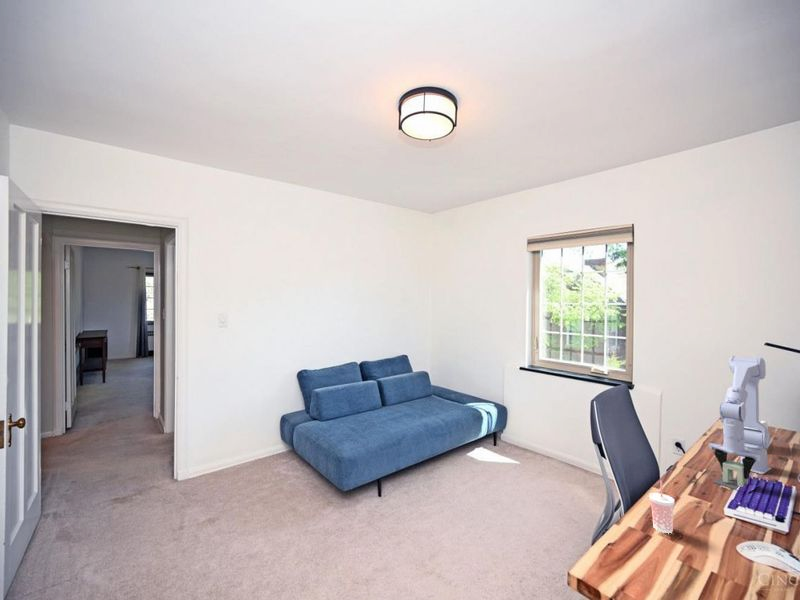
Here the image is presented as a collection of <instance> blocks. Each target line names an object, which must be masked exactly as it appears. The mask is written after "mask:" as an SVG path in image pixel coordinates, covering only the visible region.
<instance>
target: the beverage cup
mask: <svg viewBox="0 0 800 600" xmlns="http://www.w3.org/2000/svg"><path fill="white" fill-rule="evenodd" d="M659 486H660V487H659V488H660V492H650V493H649V494H648V495H649V497H648V498H649V501H650V506H651V508H650V509H651V516H652V525H653V529H654V528H655V529H656V530H655V529H654V530H655V531H657V530H658V531H660V532H659V533H661V532H662V533H661V534H664V533H668V534H667V535H670V534H669V533H671V534H673V533H672V532H674V531H673V529H674V506H675V503H676V502H675V499H674V498H673V497H671V496H670V495H668V494H664V493H663V480H662V479H659ZM658 531H657V532H658Z"/></svg>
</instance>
